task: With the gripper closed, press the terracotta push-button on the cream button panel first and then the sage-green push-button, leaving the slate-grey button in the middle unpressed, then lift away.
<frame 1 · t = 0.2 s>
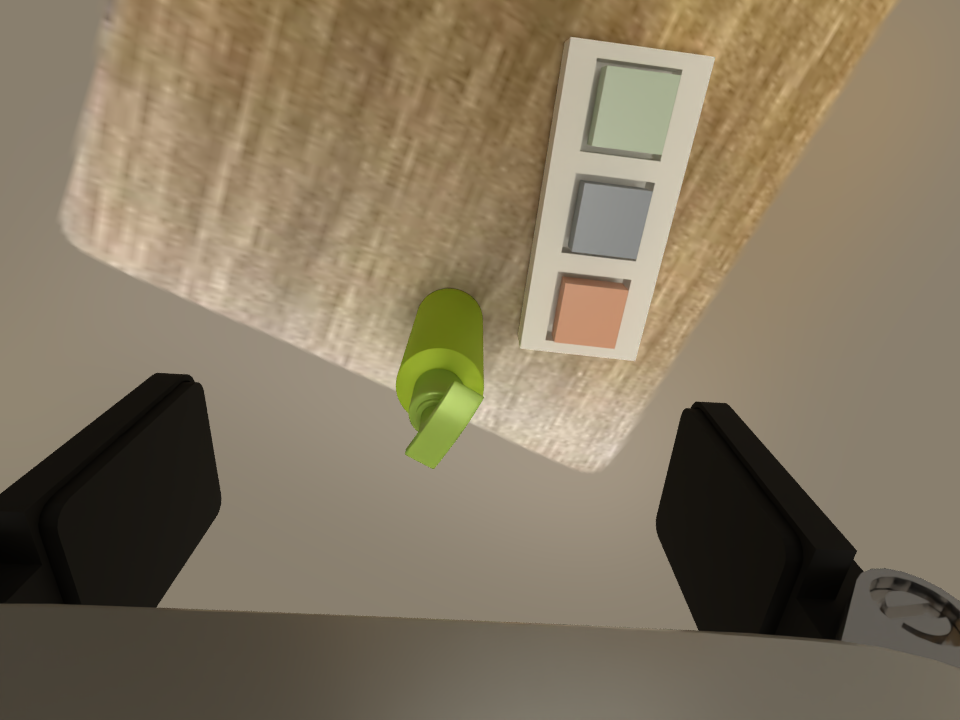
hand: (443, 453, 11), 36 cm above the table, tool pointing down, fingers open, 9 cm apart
soap dispenser: (452, 314, 48), on the table
button panel: (599, 212, 44), on the table
terracotta button: (588, 312, 44), point 4 cm above the table, slide at 0.0 cm
slate button: (608, 219, 41), point 4 cm above the table, slide at 0.0 cm
sage button: (631, 111, 38), point 4 cm above the table, slide at 0.0 cm
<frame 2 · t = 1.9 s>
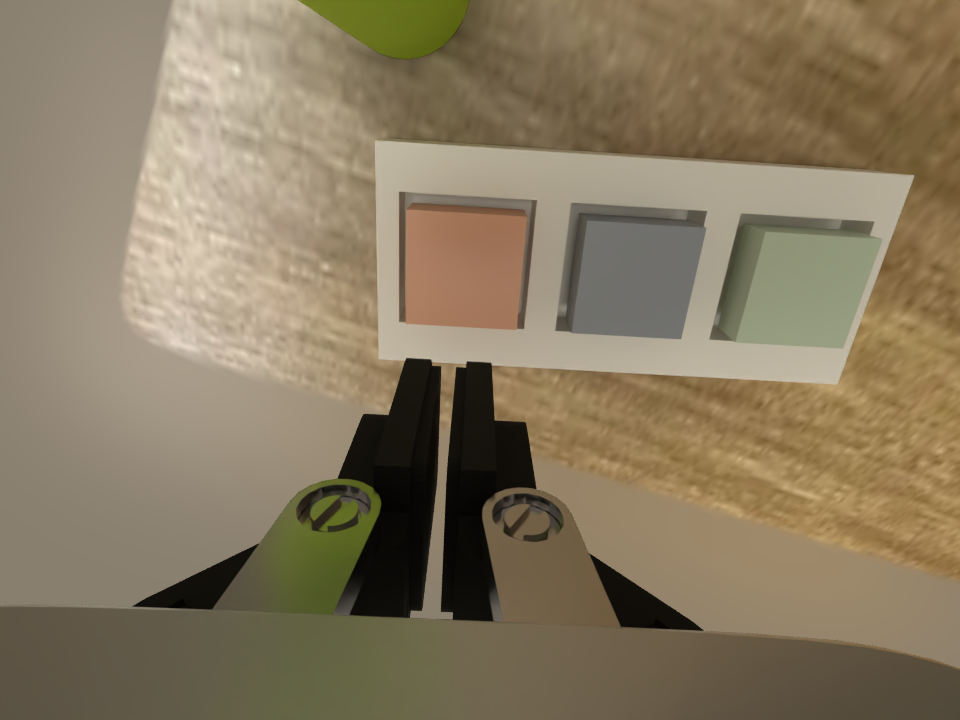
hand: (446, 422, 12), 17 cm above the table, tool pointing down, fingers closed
button panel: (612, 258, 27), on the table
terracotta button: (464, 266, 24), point 4 cm above the table, slide at 0.0 cm
slate button: (630, 276, 24), point 4 cm above the table, slide at 0.0 cm
sage button: (793, 286, 24), point 4 cm above the table, slide at 0.0 cm
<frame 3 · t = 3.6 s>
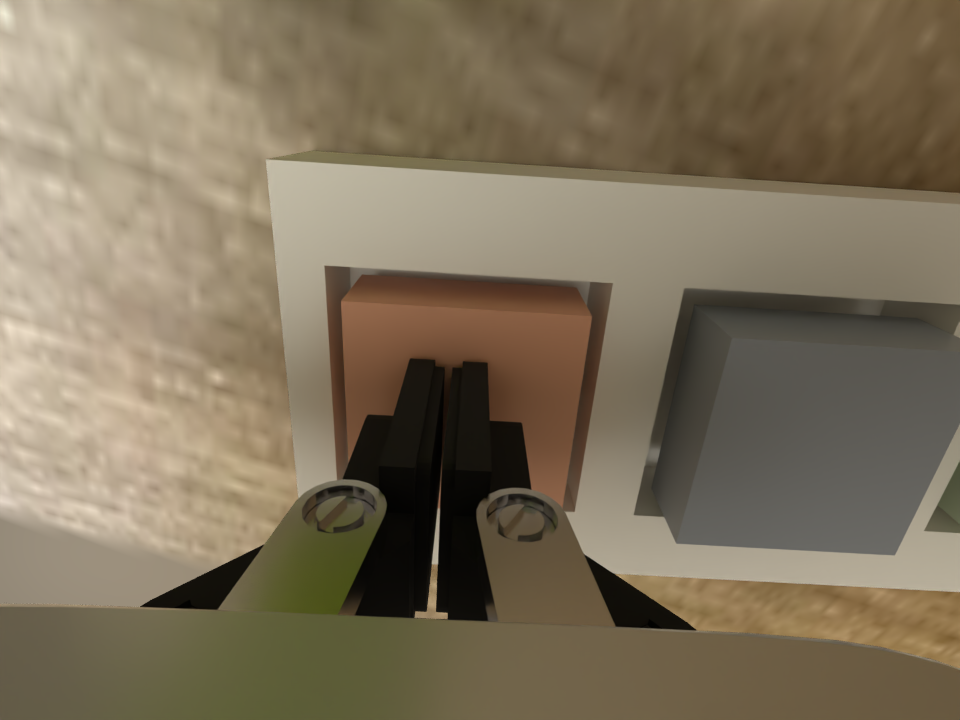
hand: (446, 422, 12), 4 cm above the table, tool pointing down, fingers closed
button panel: (730, 366, 15), on the table
terracotta button: (462, 396, 13), point 3 cm above the table, slide at 0.8 cm, touching gripper
slate button: (795, 431, 12), point 3 cm above the table, slide at 0.0 cm
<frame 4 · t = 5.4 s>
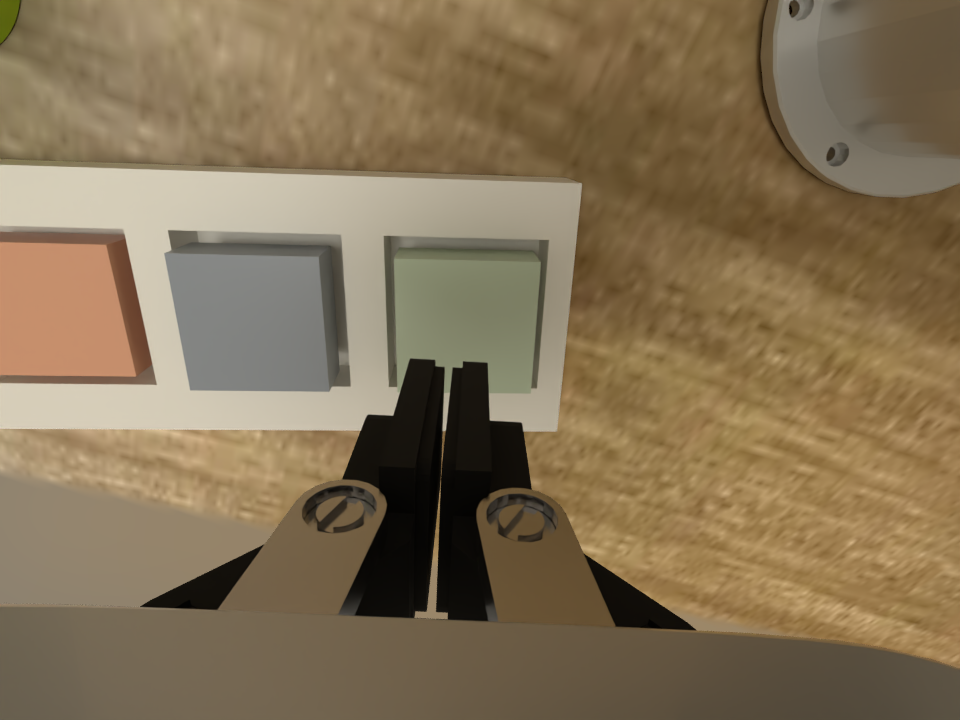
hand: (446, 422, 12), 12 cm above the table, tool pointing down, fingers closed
button panel: (287, 292, 23), on the table
terracotta button: (68, 304, 20), point 2 cm above the table, slide at 1.2 cm
slate button: (260, 317, 20), point 3 cm above the table, slide at 0.0 cm
sage button: (465, 321, 20), point 4 cm above the table, slide at 0.0 cm
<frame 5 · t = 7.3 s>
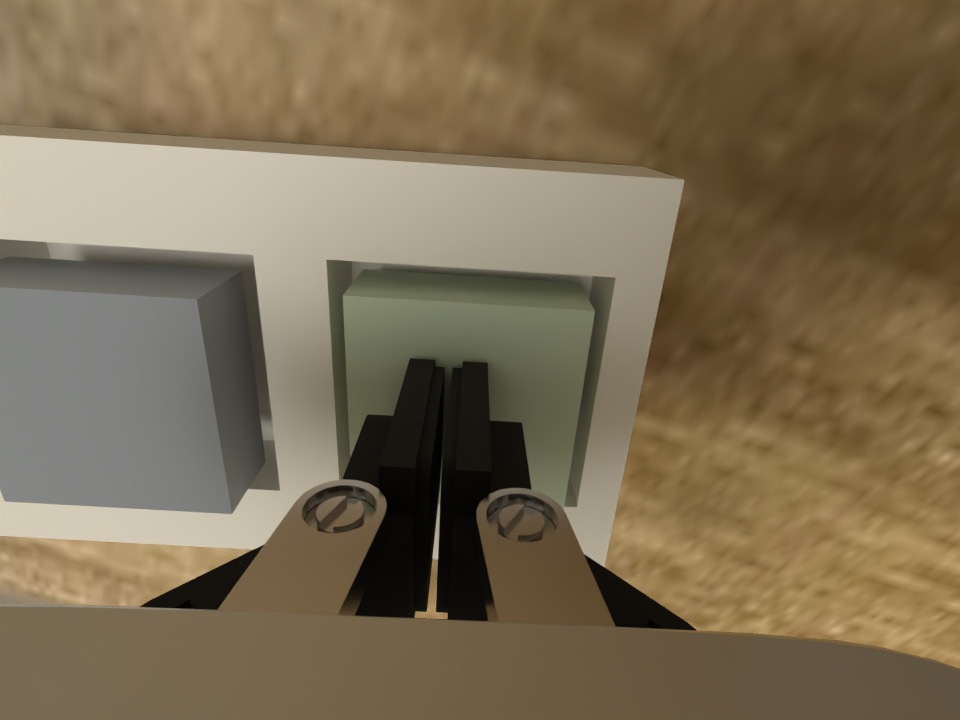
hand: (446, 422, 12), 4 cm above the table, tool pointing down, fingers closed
button panel: (199, 329, 15), on the table
slate button: (122, 387, 12), point 3 cm above the table, slide at 0.0 cm
sage button: (464, 391, 13), point 3 cm above the table, slide at 0.7 cm, touching gripper
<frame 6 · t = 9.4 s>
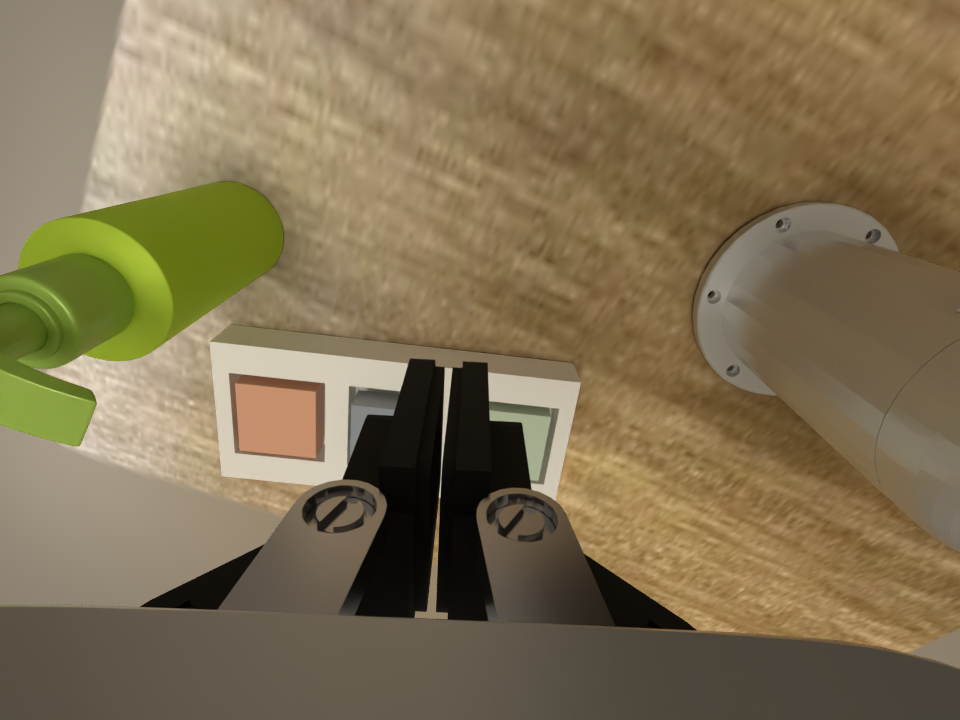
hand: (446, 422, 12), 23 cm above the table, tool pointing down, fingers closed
soap dispenser: (245, 235, 33), on the table
button panel: (400, 409, 38), on the table
terracotta button: (281, 414, 36), point 2 cm above the table, slide at 1.2 cm
slate button: (392, 435, 35), point 3 cm above the table, slide at 0.0 cm
sage button: (506, 437, 36), point 2 cm above the table, slide at 1.2 cm
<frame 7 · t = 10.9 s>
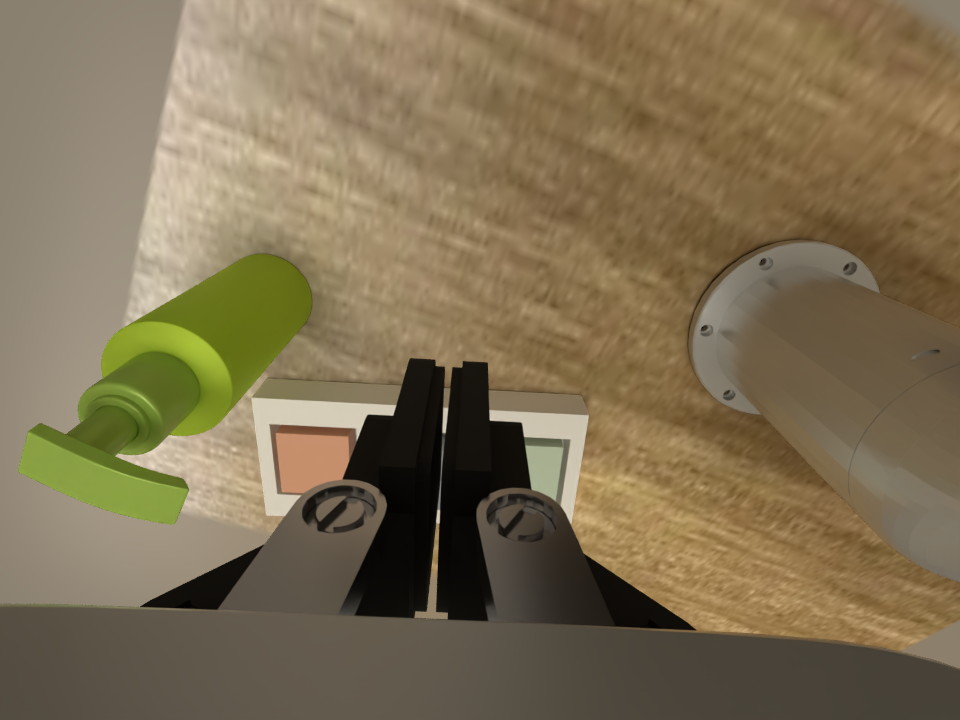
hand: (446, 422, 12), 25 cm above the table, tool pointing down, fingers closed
soap dispenser: (277, 299, 37), on the table
button panel: (424, 444, 41), on the table
terracotta button: (318, 457, 39), point 2 cm above the table, slide at 1.2 cm
slate button: (419, 471, 38), point 3 cm above the table, slide at 0.0 cm
sage button: (523, 467, 40), point 2 cm above the table, slide at 1.2 cm
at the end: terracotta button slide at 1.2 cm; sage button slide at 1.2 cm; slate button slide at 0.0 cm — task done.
